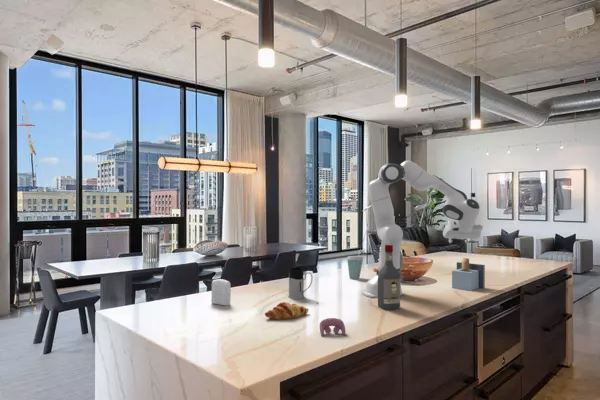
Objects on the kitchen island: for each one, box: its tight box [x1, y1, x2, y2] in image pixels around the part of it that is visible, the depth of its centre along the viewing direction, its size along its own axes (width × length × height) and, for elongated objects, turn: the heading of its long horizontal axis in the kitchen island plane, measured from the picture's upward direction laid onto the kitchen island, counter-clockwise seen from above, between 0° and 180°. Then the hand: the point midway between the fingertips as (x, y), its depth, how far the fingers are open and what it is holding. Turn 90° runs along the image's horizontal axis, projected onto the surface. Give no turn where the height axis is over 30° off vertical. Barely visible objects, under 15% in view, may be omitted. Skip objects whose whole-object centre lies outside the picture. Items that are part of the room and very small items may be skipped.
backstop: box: [456, 261, 486, 289], centre depth 249 cm, size 20×16×14 cm
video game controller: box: [319, 317, 347, 337], centre depth 166 cm, size 10×5×7 cm, turn 94°
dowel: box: [461, 257, 470, 272], centre depth 250 cm, size 4×4×12 cm
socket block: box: [451, 268, 480, 292], centre depth 250 cm, size 11×11×10 cm
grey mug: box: [288, 267, 313, 300], centre depth 228 cm, size 9×14×15 cm, turn 59°
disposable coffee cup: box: [346, 255, 364, 280], centre depth 284 cm, size 11×11×15 cm
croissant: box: [264, 301, 309, 321], centre depth 191 cm, size 21×10×8 cm, turn 119°
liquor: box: [377, 245, 401, 311], centre depth 207 cm, size 9×9×30 cm
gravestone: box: [210, 278, 232, 307], centre depth 214 cm, size 10×4×12 cm, turn 60°
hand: (458, 242), depth 247 cm, fingers open, 8 cm apart
